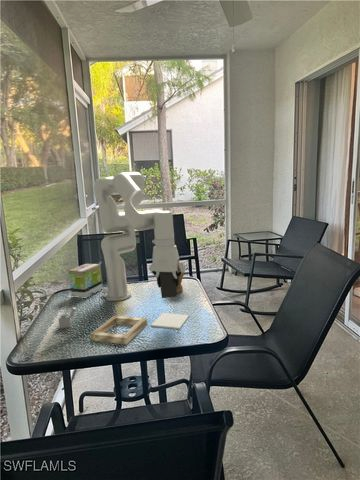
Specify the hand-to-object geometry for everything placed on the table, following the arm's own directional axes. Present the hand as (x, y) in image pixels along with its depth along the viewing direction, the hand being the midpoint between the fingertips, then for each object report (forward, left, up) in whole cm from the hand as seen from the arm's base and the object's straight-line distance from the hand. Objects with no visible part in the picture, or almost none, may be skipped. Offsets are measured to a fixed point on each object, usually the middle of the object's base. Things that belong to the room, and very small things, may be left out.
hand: (168, 286), depth 132 cm
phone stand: (0, 0, -3) cm, 3 cm away
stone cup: (-12, +37, -15) cm, 42 cm away
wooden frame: (-16, -13, -15) cm, 25 cm away
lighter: (-40, -13, -15) cm, 45 cm away
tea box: (-57, +24, -15) cm, 64 cm away
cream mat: (0, 0, -15) cm, 15 cm away
